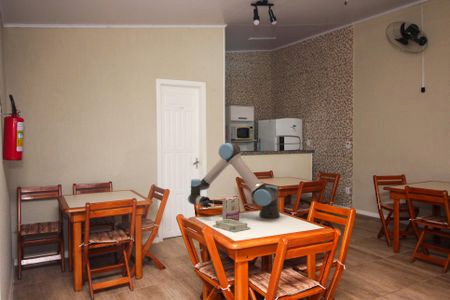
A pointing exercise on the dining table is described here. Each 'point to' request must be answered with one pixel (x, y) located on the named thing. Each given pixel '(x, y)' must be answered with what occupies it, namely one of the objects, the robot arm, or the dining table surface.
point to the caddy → (231, 225)
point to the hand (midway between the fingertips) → (221, 205)
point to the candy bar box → (231, 208)
